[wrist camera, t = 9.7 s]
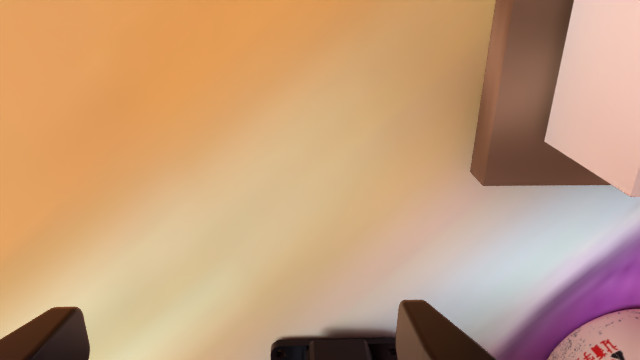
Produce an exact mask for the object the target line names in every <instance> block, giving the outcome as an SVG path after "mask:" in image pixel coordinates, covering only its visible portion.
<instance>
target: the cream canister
mask: <svg viewBox="0 0 640 360" xmlns="http://www.w3.org/2000/svg"><path fill="white" fill-rule="evenodd" d="M547 360H640V309H628V310H622V311H617V312H613V313H609V314H606V315H603V316H601V317H598V318H596V319H593V320H591V321H589V322H587V323H586V324H584V325H582V326H580V327H579V328H577V329H576V330H574V331H573V332H572V333H570V334H569V335H568V336H567V337H566V338H564V339H563V340H562V341H561V342H560V343H559V344H558V345H557V346H556V348H555V349H554V350H553V351H552V353H551V354H550V356H549V357H548V359H547Z"/></svg>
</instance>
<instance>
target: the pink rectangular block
mask: <svg viewBox="0 0 640 360" xmlns="http://www.w3.org/2000/svg"><path fill="white" fill-rule="evenodd" d="M544 142H546V143H548V144H549V145H551V146H552V147H554V148H555V149H557V150H558V151H560V152H562V153H563V154H565V155H566V156H568V157H569V158H571V159H572V160H574V161H576V162H577V163H579V164H580V165H582V166H583V167H585V168H586V169H588V170H590V171H591V172H593V173H594V174H596V175H597V176H599V177H600V178H602V179H604V180H605V181H607V182H608V183H610V184H611V185H613V186H614V187H616V188H618V189H619V190H621V191H622V192H624V193H625V194H627V195H628V196H630V197H640V0H574V3H573V8H572V12H571V17H570V22H569V27H568V31H567V36H566V41H565V46H564V50H563V55H562V60H561V65H560V69H559V74H558V79H557V84H556V88H555V93H554V98H553V103H552V107H551V112H550V117H549V122H548V126H547V131H546V136H545V140H544Z"/></svg>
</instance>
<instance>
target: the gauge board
mask: <svg viewBox="0 0 640 360" xmlns="http://www.w3.org/2000/svg"><path fill="white" fill-rule="evenodd" d="M573 3H574V0H496V4H495V11H494V17H493V24H492V31H491V37H490V44H489V51H488V57H487V64H486V70H485V77H484V84H483V90H482V97H481V104H480V110H479V117H478V123H477V130H476V137H475V143H474V150H473V156H472V163H471V170H470V172H471V173H472V174H473V175H474V176H475V178H476V179H477V180H478V181H479V182H480V183H481V184H482V185H483V186H515V185H611V184H610V183H608V182H607V181H605V180H604V179H602V178H600V177H599V176H597V175H596V174H594V173H593V172H591V171H590V170H588V169H586V168H585V167H583V166H582V165H580V164H579V163H577V162H576V161H574V160H572V159H571V158H569V157H568V156H566V155H565V154H563V153H562V152H560V151H558V150H557V149H555V148H554V147H552V146H551V145H549V144H548V143H546V142H544V140H545V136H546V131H547V126H548V122H549V117H550V112H551V107H552V103H553V98H554V93H555V88H556V84H557V79H558V74H559V69H560V65H561V60H562V55H563V50H564V46H565V41H566V36H567V31H568V27H569V22H570V17H571V12H572V8H573Z"/></svg>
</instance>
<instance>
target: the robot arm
mask: <svg viewBox="0 0 640 360" xmlns="http://www.w3.org/2000/svg"><path fill="white" fill-rule="evenodd" d="M391 347H396V348H394V349H390V348H391ZM278 350H284V352H278ZM89 354H90V345H89V340H88V335H87V331H86V326H85V321H84V317H83V313H82V311H81V309H79V308H78V307H54V308H51V309H50V310H48V311H46V312H45V313H43V314H41V315H40V316H38V317H36V318H35V319H33V320H32V321H30V322H28V323H27V324H25V325H23V326H22V327H20V328H18V329H17V330H15V331H14V332H12V333H10V334H9V335H7V336H5V337H4V338H2V339H0V360H88V359H89ZM271 360H497V359H496V358H495V357H493V356H492V355H491V354H490V353H489V352H487V351H486V350H485V349H484V348H482V347H481V346H480V345H479V344H477V343H476V342H475V341H474V340H473V339H471V338H470V337H469V336H468V335H466V334H465V333H464V332H463V331H462V330H460V329H459V328H458V327H457V326H455V325H454V324H453V323H452V322H450V321H449V320H448V319H447V318H446V317H444V316H443V315H442V314H441V313H439V312H438V311H437V310H436V309H435V308H433V307H432V306H431V305H430V304H428V303H427V302H426V301H424V300H403V301H401V303H400V305H399V310H398V320H397V330H396V338H393V337H388V338H348V339H307V340H279V341H276V342H274V343H273V344H272V347H271Z"/></svg>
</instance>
